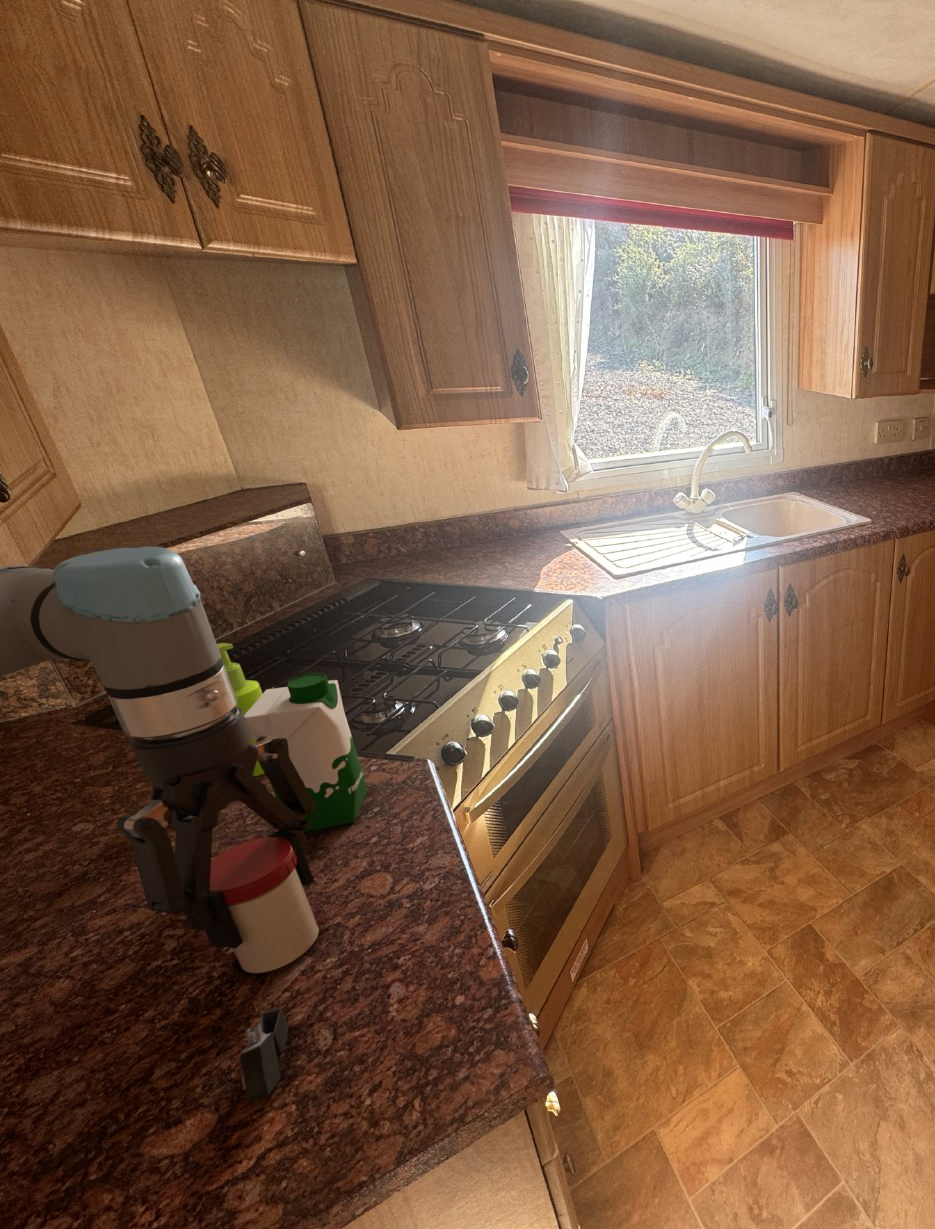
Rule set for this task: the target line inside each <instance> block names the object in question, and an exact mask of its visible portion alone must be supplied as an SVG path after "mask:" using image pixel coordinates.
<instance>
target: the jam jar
mask: <svg viewBox="0 0 935 1229" xmlns="http://www.w3.org/2000/svg"><path fill="white" fill-rule="evenodd" d="M227 907H228V909H229V911H230V913H231V916H232V918H233V920H234V922H235V925H236V927H237V929H238V931H239V934H240V936H241V938H242V940H243V943H242V944H241V945H240V946H238V947H237V948H236V949H235V948H231V949H232V951H233V954H234V956H235V957H236V958H235V959H237V960H236V961H237V962H238V964H239V966H240V968H241V969H242V970H243V971H245V972H247V973H251V974H261V973H262V974H263V973H268V972H271V971H274V970H277V969H280V968H283V967H284V966H287V965H289V964H290V963H292V962H294V961H296V959H299V957H301V956H302V955H304V954H305V953H306V952H307V951H308V950H309V949H310V948H311V947H312V946H313V944H314V943H315V942H316V940H317V938H318V936H319V931H320V929H319V926H318V923H317V921H316V918H315V915H314V913H313V910H312V907H311V905H310V902H309V900H308V896H307V894H306V892H305V889H304V886H303V885H302V884H301V881H300V878H299V876H298V873H297V871H296V868H294V870H293V872H292V873H291V874H290V875H289V876H288V877H287V878H286V879H285V880H284V881H283V882H282V883H280V884H279V885H278V886H276V887H275V888H273V889H271V890H270V891H268V892H266V893H264V894H262V895H260V896H258V897H256V898H253V899H250V900H248V901H245V902H242V903H237V904H232V905H227Z"/></svg>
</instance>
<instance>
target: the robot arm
mask: <svg viewBox="0 0 935 1229" xmlns="http://www.w3.org/2000/svg"><path fill="white" fill-rule="evenodd" d="M189 573H190V572H189V571H188V569H187V567H186V564H185V562H184V560H183V558H182V557H181V555H179V554H178V553H177V552H175V551H173V550H171V549H169V548H165V547H160V546H140V547H118V548H112V549H106V550H99V551H93V552H89V553H85V554H81V555H77V556H74V557H71V558H68V559H66V560H64V561H61V562H60V563H58V564H57V565H56V566H55V567H54V569H50V568H43V567H39V566H31V567H29V566H25V565H16V566H6V567H0V678H2V677H5V676H8V675H10V674H13V673H17V672H19V671H22V670H25V669H28V668H31V667H34V666H36V665H39V664H42V663H45V662H49V661H52V660H67V661H68V660H69V661H70V660H71V661H80V662H81V661H82V662H91V664H92V667H93V668H94V671H95V673H96V674H97V677H98V678H99V681H100V682H101V685H102V687H103V689H104V692H105V693H106V695H107V698H108V700H109V702H110V704H111V707H112V709H113V711H114V713H115V716H116V718H117V720H118V722H119V724H120V728H121V730H122V732H124V734H125V735H127V736H129V737H130V739H129V740H128V741H129V742H128V743H129V746H130V747H131V750H132V752H133V754H134V756H135V758H136V760H137V764H138V765H139V767H140V769H141V771H142V773H143V774H144V776H145V777H146V778H147V779H148V781H149V782H150V784H151V794H150V800H151V801H150V802H149V803H148V804H147V805H145V806H144V807H143V808H142V809H140V810H139V811H137V812H136V813H135V814H134V815H132V814H124V815H122V816H120V817H119V818H118V819H117V821H116V823H115V824H116V825H115V826H116V828H117V830H119V832H121V833H122V834H123V835H124V836H125V837H126V838H127V839H128V840H129V842H130V846H131V848H132V853H133V857H134V860H135V864H136V867H137V871H138V874H139V878H140V881H141V885H142V888H143V892H144V896H145V899H146V903H147V908H148V909H149V911H152V912H159V913H165V914H170V915H180V914H181V913H182V912H183V913H184V914H185V916H186V918H187V921H188V922H189V925H190V927H192V928H193V929H197V930H203V931H205V934H206V935H207V937H208V940H209V942H210V944H211V945H212V946H216V947H222V948H223V947H224V948H230V949H232V948H235V949H236V948H237V947H238V946H240V945H241V944H242V943H243V940H242V938H241V936H240V934H239V931H238V929H237V927H236V925H235V922H234V920H233V918H232V916H231V913H230V911H229V909H228V907H227V905H226V902H225V900H224V898H223V896H222V893H221V892H219V891H213V890H210V875H211V860H212V853H213V852H212V851H213V832H214V828H216V827H218V825H219V824H218V823H219V813H221V812H222V811H223V810H224V809H225V808H226V807H227V806H228V805H229V804H231V803H234V802H236V801H240V802H241V803H242V804H243V805H245V806H246V807H248V809H250V810H251V811H252V812H254V813H255V814H256V815H258V816H259V817H260V818H261V819H262V820H263V821H265V822H266V823H267V824H269V825H270V826H271V827H273V828H274V829H277V830H273V831H271V833H269V834H268V835H267V837H278V838H284V839H286V840H288V841H289V842H290V843H291V845H292V848H293V849H294V851H295V853H296V856H297V863H296V866H295V868H296V871H297V873H298V876H299V878H300V881H301V884H302V886H303V887H304V886H305V887H310V886H311V885H312V884H313V883H314V882H315V879H314V877H313V874H312V871H311V869H310V866H309V863H308V861H307V858H306V854H305V853H306V852H307V851H308V849H309V844H308V841H307V838H306V836H305V832H304V831H306V830H307V829H308V827H309V821H307V820H304V818H305V817H306V816H307V815H311V814H313V813H314V812H315V810H316V805H315V803H314V801H313V799H312V797H311V796H310V794H309V792H308V790H307V788H306V786H305V785H304V783H303V781H302V779H301V777H300V776H299V774H298V772H297V770H296V768H295V767H294V765H293V763H292V761H291V759H290V757H289V749H288V741H287V739H285V738H278V737H269V736H261V737H259V738H258V739H257V741H256V743H253V744H252V743H251V741H252V736H251V733H250V730H249V728H248V725H247V722H246V720H245V717H244V715H243V712H242V710H241V709H240V708H239V707H237V706H236V704H237V701H238V700H237V697H236V695H235V692H234V689H233V687H232V684H231V681H230V679H229V676H228V674H227V671H226V668H225V666H224V664H223V661H222V659H221V655H220V652H219V649H218V646H217V644H218V643H217V640H216V638H215V635H214V632H213V629H212V627H211V625H210V622H209V619H208V615H207V613H206V610H205V607H204V605H203V601H202V598H201V596H202V595H201V592H200V590H199V589H198V587H197V585H196V584H194V582H193V580H192V578H191V575H190V574H189ZM257 760H258V761H259V764H260V766H261V768H262V769H263V771H264V773H265V774H264V775H265V776H266V778H267V780H268V781H269V783H270V786H271V785H272V786H273V788H274V790H275V791H276V793H277V795H278V796H279V798H280V800H281V801H279V800H278V799H277V798H276V796H275V795H274V794H272V793H271V791H269V790H268V786H267V785H266V784H265V783H263V782H262V781H261V780H260V779H259V778H257V776H254V775H253V772H254V769H255V766H256V762H257ZM272 786H271V787H272ZM273 788H272V789H273ZM167 811H171V826H172V828H173V829H174V830H175V840H174V841H175V843H174V844H175V845H174V848H173V844H172V840H171V837H170V835H169V833H168V831H167V830H166V829H167V827H169V822H168V821H167V820H166V818H165V814H166V812H167ZM306 832H307V831H306Z"/></svg>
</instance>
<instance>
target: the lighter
mask: <svg viewBox="0 0 935 1229" xmlns="http://www.w3.org/2000/svg"><path fill="white" fill-rule="evenodd" d="M245 1031H246V1037H247V1045H246V1046H245V1047H244V1048H243V1049H242V1050H241V1052H240V1055H239V1059H240V1065H241V1069H242V1070H241V1071H242V1077H241V1085H242V1090H245V1093H246V1099H247V1104H248V1105H250V1104H252V1103H254V1102H256V1101H258V1100H261V1099H263V1098H266V1097H268V1096H269V1095H270V1094H271V1092H272V1091H273V1090H274V1088H275V1087H276V1086H277V1084H278V1083H279V1081H280V1080H281V1079H282V1076H281V1071H280V1065H279V1060H278V1057H280V1056H281V1055H282V1054H283V1052H284V1050H285V1048H286V1045H287V1040H288V1033H289V1024H288V1021H287V1019H286V1016H285V1013H284V1010H283V1008H282V1007H279V1008H276V1009H271V1010H267V1011H264V1012H262V1013H261V1015H260V1018H259V1021H258V1024H256V1025H253V1026H251V1027H249V1028H248V1029H247V1030H245Z"/></svg>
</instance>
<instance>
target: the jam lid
mask: <svg viewBox="0 0 935 1229" xmlns="http://www.w3.org/2000/svg"><path fill="white" fill-rule="evenodd" d="M296 863H297V856H296V853H295V851H294V849H293V848H292V845H291V843H290V842H289V841H288V840H286V839H284V838H278V837H268V836H267V837H261V838H256V839H252V840H248V841H246V842H243V843H239V844H237V845H235V846H233V847H230V848H228V849H226V850H225V851H222V852H221V853H219V854H218V855H217V856H215V857H213V858H211V875H210V890H213V891H219V892H221V893H222V896H223V898H224V900H225V902H226V905H232V904H237V903H242V902H245V901H248V900H250V899H253V898H256V897H258V896H260V895H262V894H264V893H266V892H268V891H270V890H271V889H273V888H275V887H276V886H278V885H279V884H280V883H282V882H283V881H284V880H285V879H286V878H287V877H288V876H289V875H290V874H291V873H292V872H293V870H294V868H295V866H296Z"/></svg>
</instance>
